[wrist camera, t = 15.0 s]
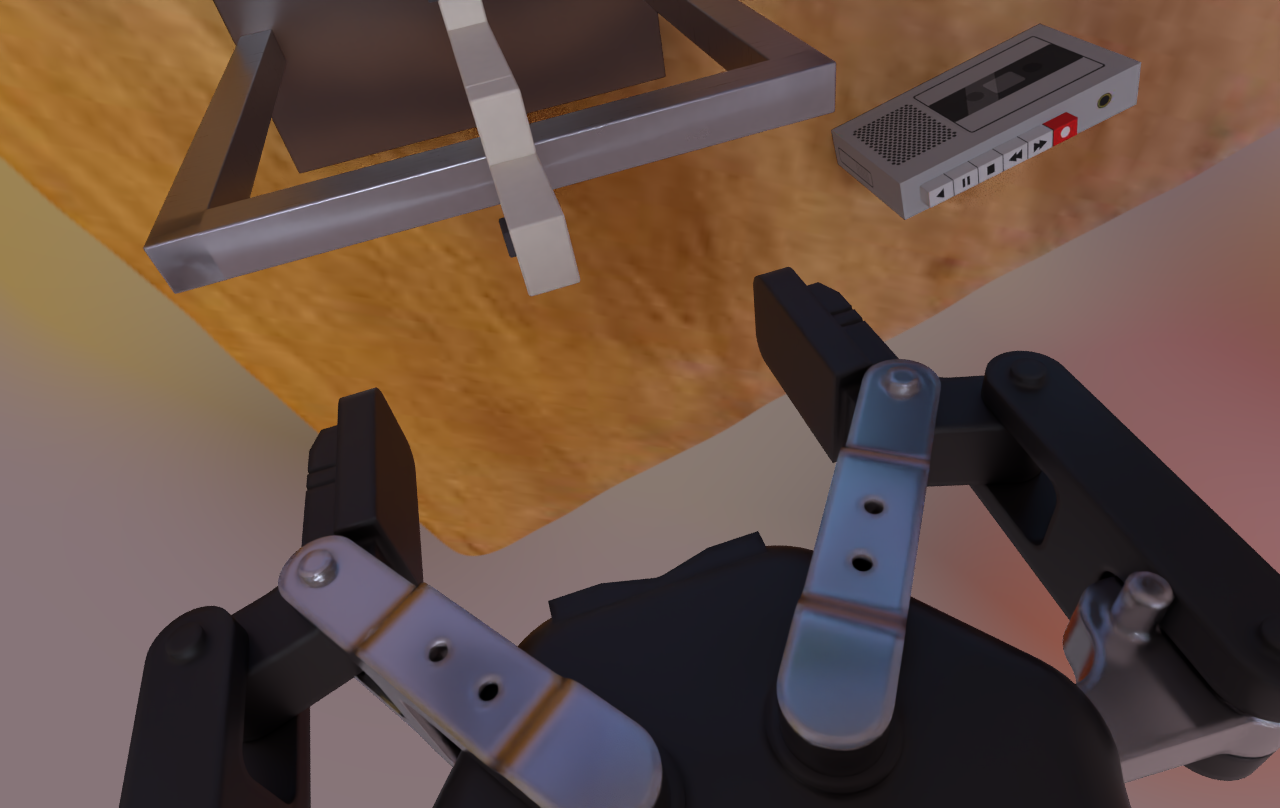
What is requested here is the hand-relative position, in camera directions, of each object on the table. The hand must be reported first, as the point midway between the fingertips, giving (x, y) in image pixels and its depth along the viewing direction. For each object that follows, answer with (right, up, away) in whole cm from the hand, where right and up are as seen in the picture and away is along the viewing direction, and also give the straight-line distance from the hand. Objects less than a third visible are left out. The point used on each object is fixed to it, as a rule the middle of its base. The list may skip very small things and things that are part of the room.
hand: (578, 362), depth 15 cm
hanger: (-4, +10, +13) cm, 17 cm away
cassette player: (+22, +21, +36) cm, 47 cm away
